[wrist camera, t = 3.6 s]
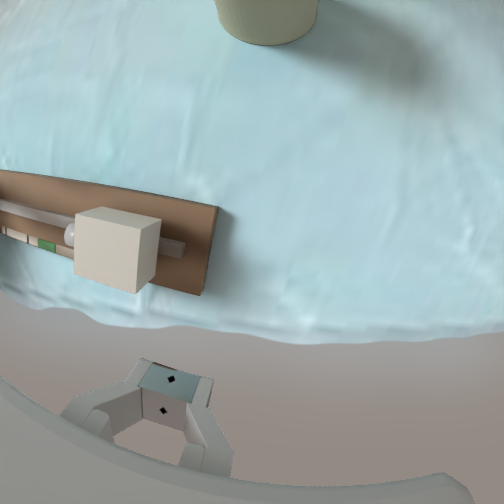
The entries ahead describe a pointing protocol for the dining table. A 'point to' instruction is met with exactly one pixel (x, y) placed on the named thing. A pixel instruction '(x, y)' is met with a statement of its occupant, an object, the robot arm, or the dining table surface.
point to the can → (267, 19)
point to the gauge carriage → (114, 247)
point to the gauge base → (99, 195)
